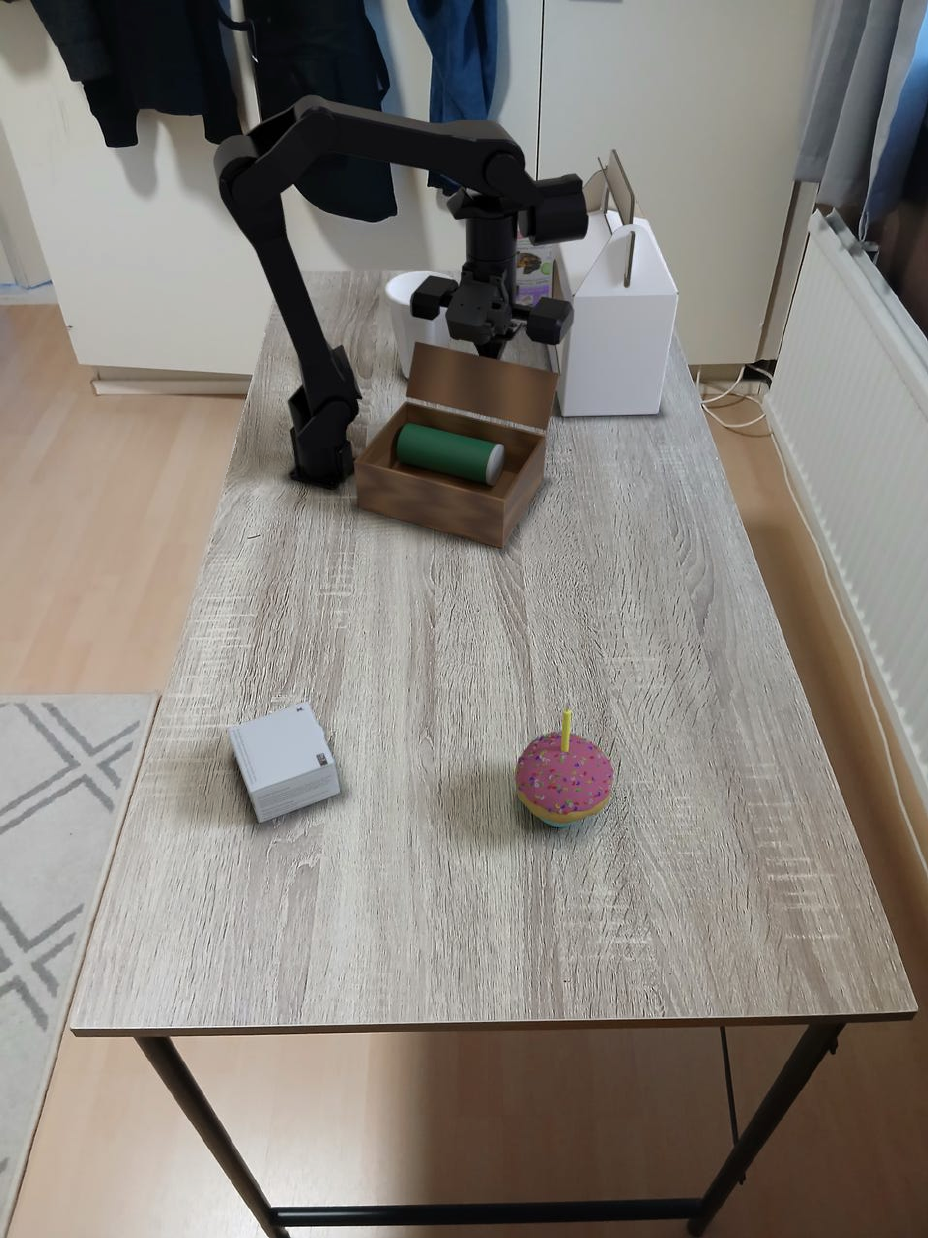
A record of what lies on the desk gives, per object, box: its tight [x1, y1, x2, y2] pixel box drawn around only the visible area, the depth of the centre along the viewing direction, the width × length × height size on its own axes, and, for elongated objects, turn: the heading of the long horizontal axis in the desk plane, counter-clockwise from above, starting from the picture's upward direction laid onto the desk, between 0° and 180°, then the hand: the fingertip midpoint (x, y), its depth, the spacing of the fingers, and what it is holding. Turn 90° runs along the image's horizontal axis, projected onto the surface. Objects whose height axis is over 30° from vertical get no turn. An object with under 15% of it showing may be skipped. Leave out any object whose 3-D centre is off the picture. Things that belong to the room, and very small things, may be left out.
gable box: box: [546, 148, 680, 417], centre depth 123 cm, size 22×13×28 cm, turn 2°
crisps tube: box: [397, 423, 505, 486], centre depth 115 cm, size 5×5×12 cm
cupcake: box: [514, 701, 615, 828], centre depth 79 cm, size 9×8×12 cm
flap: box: [405, 341, 560, 431], centre depth 112 cm, size 19×7×1 cm
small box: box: [227, 700, 341, 824], centre depth 83 cm, size 8×8×5 cm
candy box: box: [516, 225, 552, 326], centre depth 139 cm, size 14×6×16 cm, turn 93°
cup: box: [384, 270, 453, 380], centre depth 129 cm, size 10×10×13 cm
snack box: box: [353, 400, 548, 549], centre depth 112 cm, size 19×14×7 cm
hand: (490, 372), depth 115 cm, fingers closed, pressing on flap
